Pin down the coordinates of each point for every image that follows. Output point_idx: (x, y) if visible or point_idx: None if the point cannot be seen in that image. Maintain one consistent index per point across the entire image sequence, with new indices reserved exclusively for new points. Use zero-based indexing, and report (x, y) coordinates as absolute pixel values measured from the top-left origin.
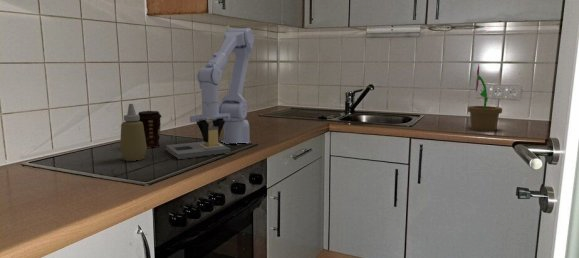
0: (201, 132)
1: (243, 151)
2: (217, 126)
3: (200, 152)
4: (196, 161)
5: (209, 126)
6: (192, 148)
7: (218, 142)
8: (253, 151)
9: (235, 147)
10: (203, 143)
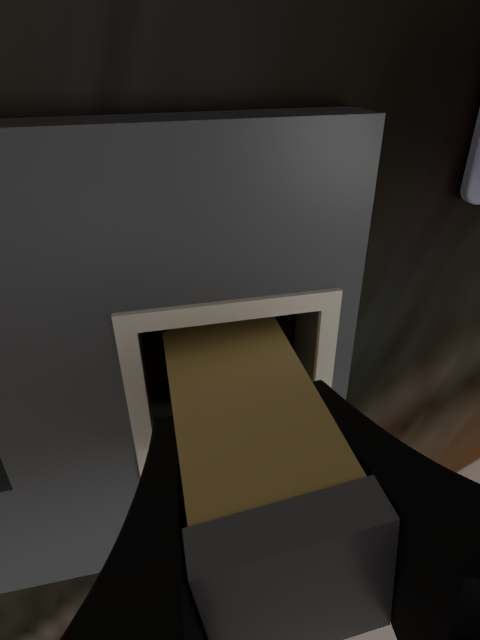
0: (130, 520)
1: (425, 438)
2: (387, 616)
3: (70, 572)
4: (30, 601)
5: (281, 607)
6: (3, 464)
7: (361, 275)
8: (473, 453)
9: (468, 291)
10: (178, 265)
